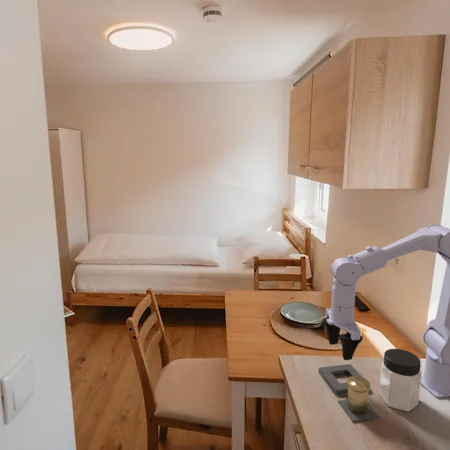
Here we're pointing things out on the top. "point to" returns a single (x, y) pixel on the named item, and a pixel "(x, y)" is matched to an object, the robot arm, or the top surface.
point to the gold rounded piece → (357, 395)
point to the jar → (400, 379)
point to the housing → (333, 371)
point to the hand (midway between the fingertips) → (340, 351)
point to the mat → (355, 418)
